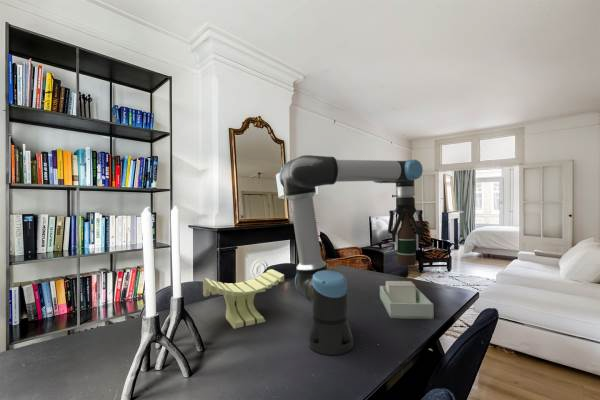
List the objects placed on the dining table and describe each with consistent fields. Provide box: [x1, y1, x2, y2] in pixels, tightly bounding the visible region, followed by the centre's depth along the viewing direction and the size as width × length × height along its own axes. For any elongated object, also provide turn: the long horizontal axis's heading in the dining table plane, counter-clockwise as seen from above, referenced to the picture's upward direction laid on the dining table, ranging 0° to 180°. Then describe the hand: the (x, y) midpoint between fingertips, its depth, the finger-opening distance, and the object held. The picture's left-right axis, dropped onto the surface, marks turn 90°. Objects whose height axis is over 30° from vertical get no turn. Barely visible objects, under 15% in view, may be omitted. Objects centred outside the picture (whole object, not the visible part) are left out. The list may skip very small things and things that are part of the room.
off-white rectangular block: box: [385, 280, 417, 303], centre depth 139 cm, size 12×8×8 cm, turn 84°
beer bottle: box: [396, 208, 417, 267], centre depth 127 cm, size 8×8×24 cm
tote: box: [379, 285, 435, 320], centre depth 132 cm, size 17×26×6 cm, turn 174°
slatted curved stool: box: [202, 268, 285, 330], centre depth 123 cm, size 30×16×18 cm, turn 119°
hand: (406, 249), depth 127 cm, fingers closed on beer bottle, 8 cm apart
